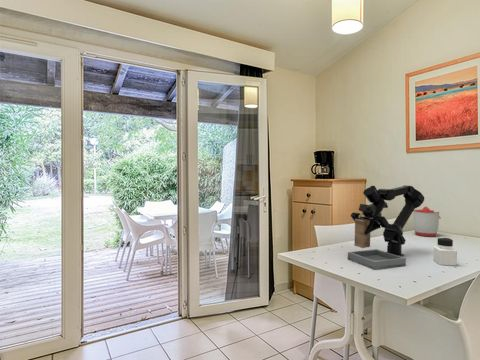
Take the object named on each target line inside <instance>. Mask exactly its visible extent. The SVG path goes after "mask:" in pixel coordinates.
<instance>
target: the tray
mask: <svg viewBox="0 0 480 360" xmlns="http://www.w3.org/2000/svg"><path fill="white" fill-rule="evenodd" d="M406 259H407V258H406V257H403V256H397V255H394V254H390V253H387V251H384V250H381V249H377V248H374V249H365V250H363V249H362V250H354V251H353V250H352V251H347V260H348V261H352V262H354V263H356V264H359V265H361V266H363V267H366V268H369V269H372V270H373V271H375V270H383V269H384V270H385V269H392V268H397V267H399V268H400V267H405V266H406V265H407V264H406V262H407V260H406Z"/></svg>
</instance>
